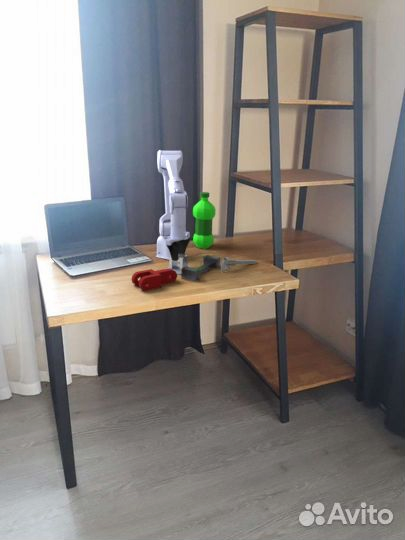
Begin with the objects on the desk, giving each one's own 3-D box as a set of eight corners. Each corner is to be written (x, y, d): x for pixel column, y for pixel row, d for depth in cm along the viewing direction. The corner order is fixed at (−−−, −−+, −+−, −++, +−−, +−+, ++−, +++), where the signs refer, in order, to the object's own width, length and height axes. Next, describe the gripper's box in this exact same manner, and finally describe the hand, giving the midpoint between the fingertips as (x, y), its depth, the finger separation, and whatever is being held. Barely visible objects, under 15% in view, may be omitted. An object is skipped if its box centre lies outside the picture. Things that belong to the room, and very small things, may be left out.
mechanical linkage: (141, 292, 154) (140, 278, 153) (131, 286, 160) (131, 272, 158) (180, 284, 163) (180, 271, 162) (170, 278, 169) (170, 265, 167)
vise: (181, 278, 168) (181, 268, 166) (206, 264, 184) (207, 254, 183) (195, 281, 165) (195, 271, 164) (219, 266, 182) (220, 257, 180)
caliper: (222, 273, 175) (223, 258, 173) (220, 272, 176) (221, 257, 174) (257, 263, 188) (258, 248, 186) (255, 262, 189) (256, 248, 187)
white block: (169, 268, 177) (169, 255, 175) (174, 265, 180) (174, 252, 178) (182, 271, 174) (182, 257, 172) (187, 268, 177) (187, 255, 175)
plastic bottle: (196, 243, 214) (197, 190, 205) (217, 245, 210) (219, 192, 202) (188, 248, 205) (189, 193, 196) (210, 251, 201) (212, 195, 193)
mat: (162, 271, 175) (162, 270, 175) (175, 264, 183) (175, 263, 183) (179, 275, 171) (179, 274, 171) (192, 267, 180) (192, 266, 179)
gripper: (177, 230, 163) (176, 265, 168) (196, 222, 175) (195, 255, 180) (160, 227, 167) (161, 262, 171) (181, 220, 179) (180, 252, 183)
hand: (177, 258), depth 176 cm, fingers open, 4 cm apart
